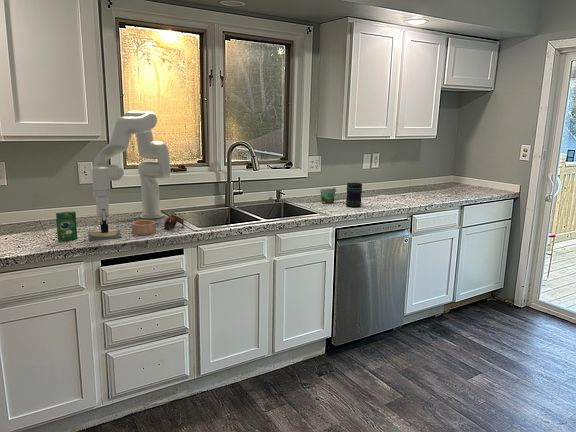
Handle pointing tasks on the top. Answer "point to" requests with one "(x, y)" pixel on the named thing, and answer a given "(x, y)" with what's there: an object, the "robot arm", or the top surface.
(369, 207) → the top surface
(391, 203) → the top surface
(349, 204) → the storage jar
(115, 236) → the mat
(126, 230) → the top surface
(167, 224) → the pottery mug
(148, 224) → the bowl
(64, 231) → the coffee box
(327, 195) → the food container
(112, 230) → the lid
